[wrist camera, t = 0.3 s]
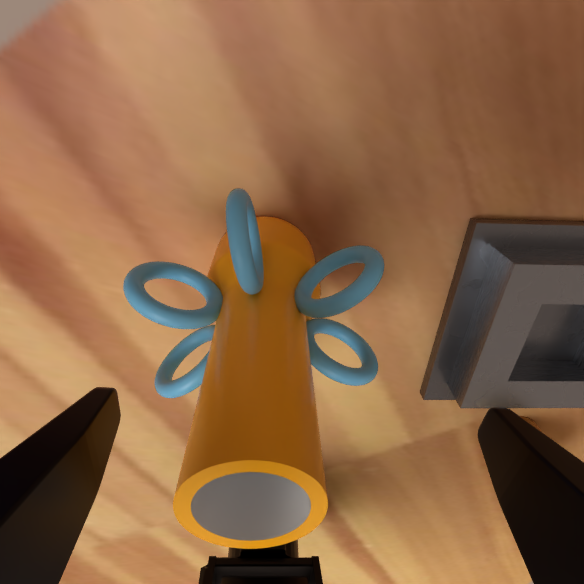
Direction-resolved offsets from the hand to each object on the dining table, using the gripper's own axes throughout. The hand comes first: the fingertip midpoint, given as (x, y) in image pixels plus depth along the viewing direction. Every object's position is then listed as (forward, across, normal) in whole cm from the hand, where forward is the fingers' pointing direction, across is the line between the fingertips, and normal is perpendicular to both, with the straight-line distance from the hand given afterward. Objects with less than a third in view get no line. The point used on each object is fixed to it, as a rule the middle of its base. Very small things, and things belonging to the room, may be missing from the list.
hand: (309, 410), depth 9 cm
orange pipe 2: (+14, +1, +3) cm, 15 cm away
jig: (+14, -18, +5) cm, 24 cm away
